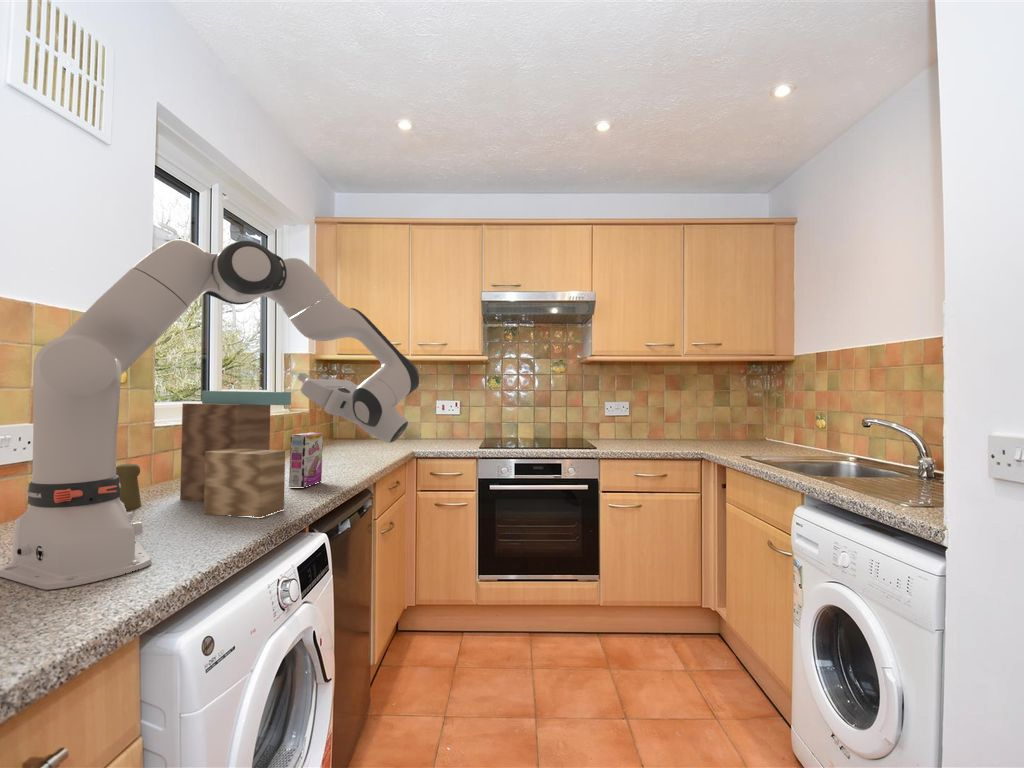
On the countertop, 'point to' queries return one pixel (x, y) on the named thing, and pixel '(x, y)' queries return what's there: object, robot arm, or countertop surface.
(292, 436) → the candy bar box
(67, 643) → the countertop surface
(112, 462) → the robot arm
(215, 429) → the walnut stand
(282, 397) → the teal bar
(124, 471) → the cork
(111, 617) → the countertop surface
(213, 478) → the oak block
